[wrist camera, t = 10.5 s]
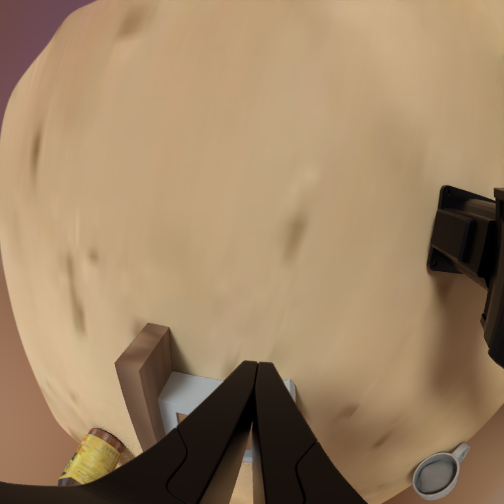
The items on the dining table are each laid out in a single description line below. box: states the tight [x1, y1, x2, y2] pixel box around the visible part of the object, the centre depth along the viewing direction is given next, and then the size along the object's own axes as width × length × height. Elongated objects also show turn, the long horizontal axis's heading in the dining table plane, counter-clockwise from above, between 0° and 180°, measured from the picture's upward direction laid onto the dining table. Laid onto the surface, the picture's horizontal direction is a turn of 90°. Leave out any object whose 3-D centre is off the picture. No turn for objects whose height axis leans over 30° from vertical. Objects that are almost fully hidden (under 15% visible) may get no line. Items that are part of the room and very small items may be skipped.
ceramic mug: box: [412, 442, 470, 500], centre depth 22 cm, size 11×8×8 cm
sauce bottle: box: [58, 428, 123, 486], centre depth 21 cm, size 7×6×20 cm
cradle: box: [158, 371, 296, 463], centre depth 22 cm, size 11×11×4 cm
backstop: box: [115, 323, 173, 452], centre depth 22 cm, size 2×18×6 cm, turn 175°
